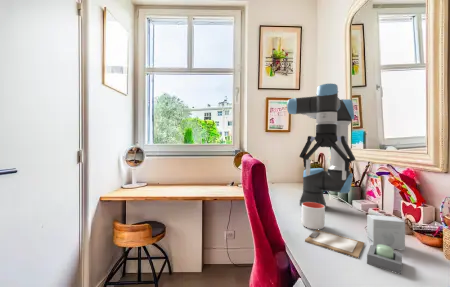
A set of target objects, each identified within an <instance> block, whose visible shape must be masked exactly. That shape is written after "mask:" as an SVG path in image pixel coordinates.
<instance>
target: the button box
mask: <svg viewBox="0 0 450 287" xmlns="http://www.w3.org/2000/svg"><path fill="white" fill-rule="evenodd" d="M376 254H377V246H373V245H371V244H370V245H369V249H368V251H367V253H366V255H367V256H366V264H368V265H370V266H374V267H377V268H381V269H383V270H386V271H389V272H392V271H393V273H395V272H396V274H398V273H399V275H402V266H403V253H401V252H399V251H398V252H397V251H395V250H393V260H392V259H389V258H385V257H382V256H379V255H376Z"/></svg>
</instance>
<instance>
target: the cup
mask: <svg viewBox="0 0 450 287" xmlns="http://www.w3.org/2000/svg"><path fill="white" fill-rule="evenodd" d="M325 210H326V208H325V206H324V205H322V204H319V203H314V202H304V203H302V206H301V216H300V217H301V220H300V222H301V225H302V226H303V227H304V226H305V227H304V228H306V227H307V229H309V228H310V230H314V229H317V230H318V229H319V230H322V229H324V227H325V219H326V218H325V217H326V216H325V214H326V213H325V212H326V211H325Z"/></svg>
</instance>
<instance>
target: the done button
mask: <svg viewBox="0 0 450 287" xmlns="http://www.w3.org/2000/svg"><path fill="white" fill-rule="evenodd" d="M393 251H394V249H392V248H391V247H389V246H386V245H377V254H376V255H379V256H382V257H385V258H389V259H392V260H393Z"/></svg>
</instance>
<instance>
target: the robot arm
mask: <svg viewBox="0 0 450 287" xmlns="http://www.w3.org/2000/svg"><path fill="white" fill-rule="evenodd" d="M338 89H339V87H338V84H336V83H323V84H320V85H318V86H317V87H316V93H315V94H316V95H314V96H305V97H294V98H293V97H292V98H289V99H288V100H287V103H286V110H287V113H288V114H289V115H303V116H304V115H305V116H307V117H308V118H310V119H314V120H315V123H316V125H315V136H312V135H308V136H307V139H306V140H307V141H306V143H305V144H304V146H303V148H302V150H301V153H300V154H299V158H301V159H303V167H304V168H305V169H304V170H303V176H302V193H301V197H300V199H299V206H301V207H302V203H304V202H314V203H319V204H322V205H324V206H325V209H326V208H327V203H326V202H327V201H326V200H325V196H324V192H325V191H326V192H334V193H339V194H348V193H350V192H351V187H352V182H353V176H354V174H353V173H352V172H351V169H350V163H351V162H355V161H356V157H355V156H354V155H355V154H354V153H353V151H352V150H351V148H350V146H349V126H350V125H351V123H352V120H355V112H354V111H355V110H354V105H353V104H354V103H353V101H352V99H351V98H349V99H348V98H347V99H345V98H343V99H342V98H341V99H340V98H339V96H338V95H339V94H338V93H339V90H338ZM314 141H315V142H316V143H315V144H314V145H313V147H312V148H310V147H311V145H312V143H313V142H314ZM319 148H330V165H329V167H327V170H325V169H324V168H321V167H318V168H317V167H316V168H314V167H313V168H311V159H310V157H312V155H313V154H314V153H315V152H316V151H317V150H318V149H319ZM309 149H310V150H309ZM308 150H309V151H308Z"/></svg>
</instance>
